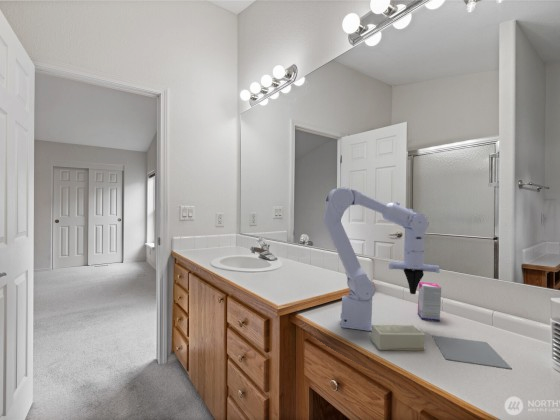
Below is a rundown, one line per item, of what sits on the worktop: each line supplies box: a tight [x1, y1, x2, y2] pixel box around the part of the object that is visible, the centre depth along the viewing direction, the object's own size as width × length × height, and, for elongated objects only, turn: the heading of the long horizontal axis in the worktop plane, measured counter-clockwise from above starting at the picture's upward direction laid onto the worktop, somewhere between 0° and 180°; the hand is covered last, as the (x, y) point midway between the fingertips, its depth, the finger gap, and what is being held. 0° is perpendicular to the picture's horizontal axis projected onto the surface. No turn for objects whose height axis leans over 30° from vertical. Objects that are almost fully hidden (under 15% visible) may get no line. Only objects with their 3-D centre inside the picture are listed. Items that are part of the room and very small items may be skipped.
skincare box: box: [370, 324, 426, 351], centre depth 79 cm, size 6×4×12 cm
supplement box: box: [417, 281, 442, 322], centre depth 100 cm, size 6×6×12 cm
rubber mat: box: [431, 334, 513, 370], centre depth 77 cm, size 14×14×1 cm
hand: (412, 293), depth 92 cm, fingers closed
